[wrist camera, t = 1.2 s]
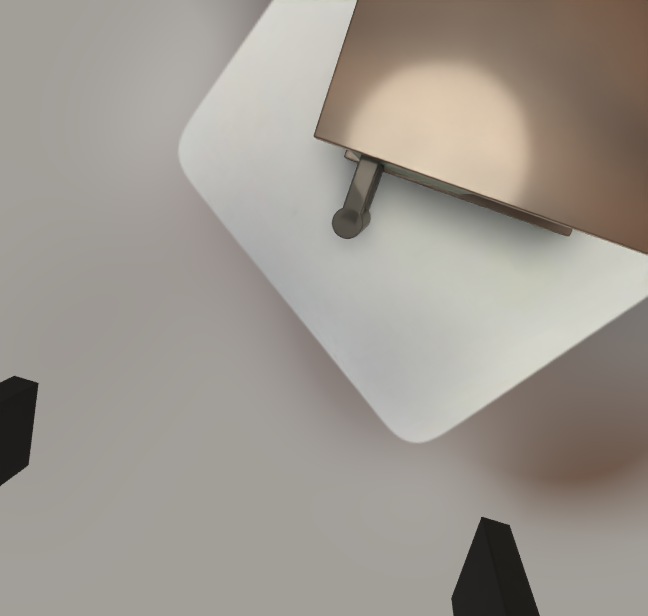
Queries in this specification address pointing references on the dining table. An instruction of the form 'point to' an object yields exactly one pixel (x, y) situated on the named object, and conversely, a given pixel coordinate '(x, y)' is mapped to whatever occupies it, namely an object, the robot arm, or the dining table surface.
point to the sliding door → (369, 195)
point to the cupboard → (505, 106)
